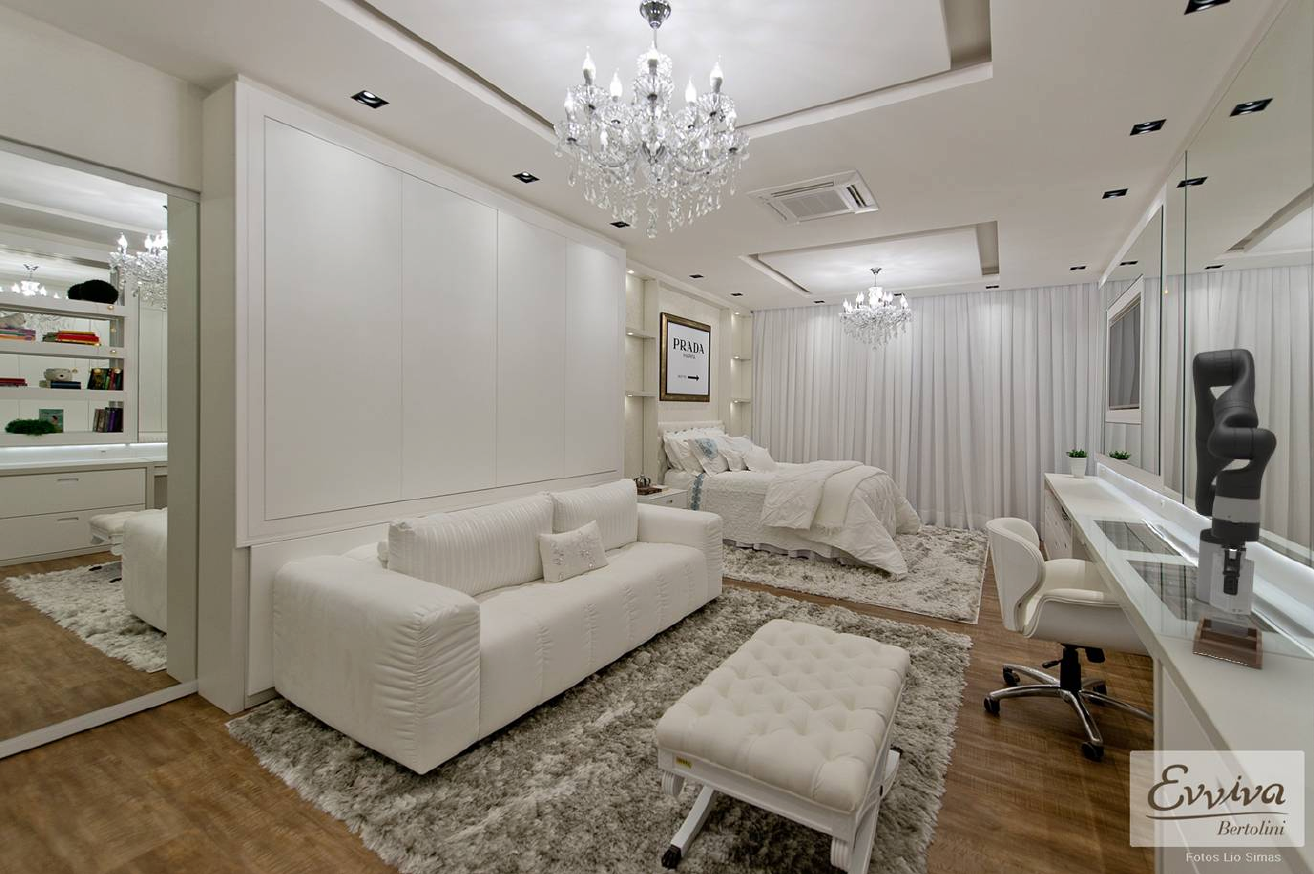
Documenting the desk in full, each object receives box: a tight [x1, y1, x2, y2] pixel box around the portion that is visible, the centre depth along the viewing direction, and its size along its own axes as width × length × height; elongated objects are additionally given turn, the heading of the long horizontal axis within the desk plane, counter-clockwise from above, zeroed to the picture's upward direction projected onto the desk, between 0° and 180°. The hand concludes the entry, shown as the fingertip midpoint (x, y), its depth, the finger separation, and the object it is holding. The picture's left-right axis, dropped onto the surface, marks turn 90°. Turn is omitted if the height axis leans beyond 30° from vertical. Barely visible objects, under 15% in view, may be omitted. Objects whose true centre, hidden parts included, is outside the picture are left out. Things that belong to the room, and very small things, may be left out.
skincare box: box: [1209, 554, 1255, 616], centre depth 128 cm, size 6×4×12 cm
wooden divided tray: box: [1192, 614, 1263, 670], centre depth 132 cm, size 20×11×5 cm, turn 134°
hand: (1230, 590), depth 128 cm, fingers closed on skincare box, 7 cm apart
